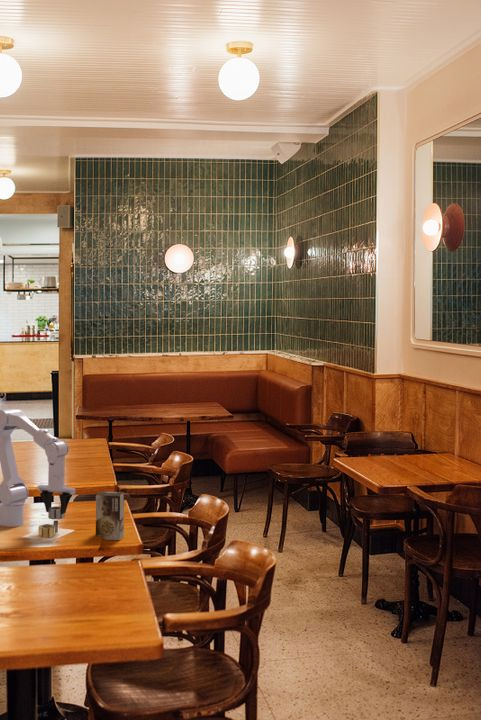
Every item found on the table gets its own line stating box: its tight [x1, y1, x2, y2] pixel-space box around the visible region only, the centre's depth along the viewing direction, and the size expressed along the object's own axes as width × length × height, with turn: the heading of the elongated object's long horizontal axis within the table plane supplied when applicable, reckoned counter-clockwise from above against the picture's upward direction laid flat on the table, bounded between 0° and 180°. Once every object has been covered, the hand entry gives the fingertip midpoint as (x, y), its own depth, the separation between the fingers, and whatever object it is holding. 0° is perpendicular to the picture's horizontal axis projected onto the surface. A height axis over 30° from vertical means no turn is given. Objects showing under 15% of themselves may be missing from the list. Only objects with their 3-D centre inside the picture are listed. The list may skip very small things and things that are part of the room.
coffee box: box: [95, 490, 125, 541], centre depth 293 cm, size 9×6×16 cm
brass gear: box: [38, 523, 55, 538], centre depth 289 cm, size 6×6×3 cm
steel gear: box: [47, 505, 66, 520], centre depth 294 cm, size 6×6×3 cm
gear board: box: [22, 520, 76, 542], centre depth 292 cm, size 12×16×5 cm
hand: (56, 512), depth 294 cm, fingers closed on steel gear, 5 cm apart
